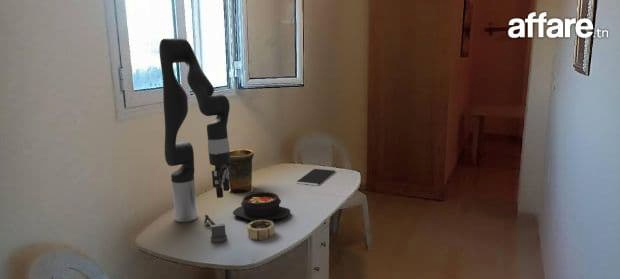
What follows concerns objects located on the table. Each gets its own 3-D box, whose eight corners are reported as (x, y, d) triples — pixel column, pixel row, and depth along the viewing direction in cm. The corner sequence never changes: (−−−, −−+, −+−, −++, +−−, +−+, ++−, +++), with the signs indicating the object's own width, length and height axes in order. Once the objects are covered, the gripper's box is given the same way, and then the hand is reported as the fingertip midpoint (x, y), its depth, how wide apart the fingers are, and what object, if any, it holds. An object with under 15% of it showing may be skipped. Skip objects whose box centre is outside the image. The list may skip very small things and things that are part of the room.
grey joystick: (210, 238, 167) (209, 223, 165) (226, 235, 168) (225, 221, 167) (211, 244, 161) (210, 229, 160) (227, 242, 163) (226, 227, 161)
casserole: (296, 210, 193) (295, 192, 191) (282, 226, 175) (281, 207, 173) (243, 206, 199) (242, 188, 198) (225, 222, 182) (224, 203, 180)
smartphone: (294, 185, 230) (294, 182, 230) (314, 171, 254) (314, 168, 254) (318, 187, 225) (318, 184, 225) (335, 173, 249) (335, 170, 249)
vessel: (258, 185, 229) (256, 148, 224) (252, 195, 215) (249, 156, 210) (231, 185, 230) (228, 148, 225) (224, 195, 216) (220, 156, 212)
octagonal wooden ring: (246, 231, 171) (245, 221, 171) (271, 227, 174) (270, 218, 174) (250, 241, 162) (249, 231, 161) (276, 237, 165) (276, 227, 164)
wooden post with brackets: (205, 221, 181) (207, 212, 179) (216, 232, 177) (218, 224, 175) (201, 222, 180) (203, 214, 178) (213, 234, 176) (215, 225, 174)
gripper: (214, 147, 165) (219, 189, 167) (202, 155, 151) (207, 200, 153) (234, 146, 164) (238, 188, 167) (223, 154, 150) (228, 199, 153)
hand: (223, 194), depth 160 cm, fingers open, 8 cm apart
